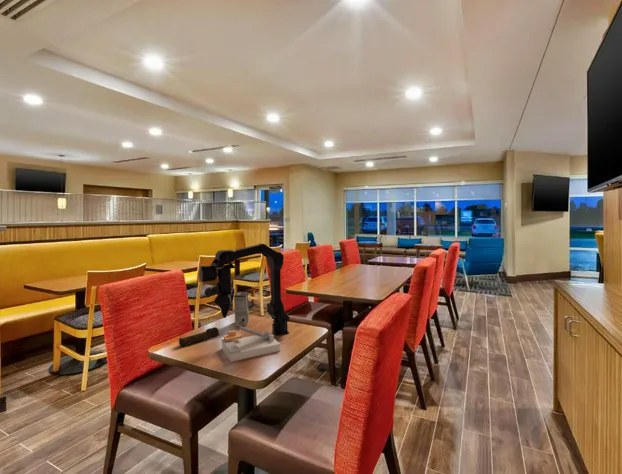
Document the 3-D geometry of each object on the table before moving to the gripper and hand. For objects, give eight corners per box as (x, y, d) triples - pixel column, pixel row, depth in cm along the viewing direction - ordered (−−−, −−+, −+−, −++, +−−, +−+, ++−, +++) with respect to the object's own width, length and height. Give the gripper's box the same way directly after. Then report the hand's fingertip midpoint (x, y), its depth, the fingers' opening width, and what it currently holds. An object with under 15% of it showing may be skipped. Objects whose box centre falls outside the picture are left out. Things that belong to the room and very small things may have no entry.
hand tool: (182, 348, 144) (181, 338, 144) (178, 346, 147) (178, 335, 147) (221, 337, 157) (221, 327, 157) (217, 335, 160) (217, 325, 160)
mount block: (267, 339, 152) (267, 327, 152) (280, 350, 139) (279, 337, 139) (221, 348, 143) (221, 335, 142) (230, 361, 129) (230, 347, 129)
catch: (239, 335, 146) (239, 329, 146) (242, 338, 143) (242, 331, 142) (223, 338, 143) (223, 332, 143) (225, 341, 139) (225, 334, 139)
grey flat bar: (268, 337, 147) (269, 336, 147) (271, 340, 143) (272, 338, 143) (238, 327, 140) (239, 325, 140) (241, 329, 137) (242, 328, 137)
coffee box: (237, 320, 181) (236, 291, 180) (249, 320, 181) (248, 291, 180) (234, 326, 172) (233, 295, 171) (247, 325, 172) (246, 295, 171)
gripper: (209, 276, 152) (211, 309, 153) (201, 284, 134) (202, 322, 135) (234, 275, 154) (235, 308, 155) (229, 283, 135) (230, 320, 136)
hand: (226, 314), depth 145 cm, fingers open, 9 cm apart
